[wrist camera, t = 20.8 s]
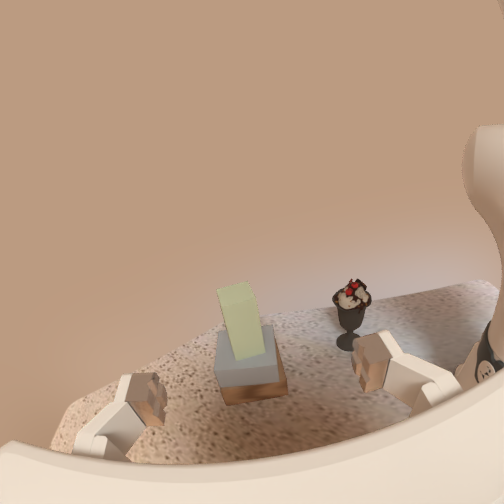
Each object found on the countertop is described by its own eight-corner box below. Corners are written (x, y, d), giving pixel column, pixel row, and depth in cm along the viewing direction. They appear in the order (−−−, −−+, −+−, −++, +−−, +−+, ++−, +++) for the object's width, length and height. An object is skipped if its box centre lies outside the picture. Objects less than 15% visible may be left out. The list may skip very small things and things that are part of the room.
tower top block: (275, 342, 48) (272, 324, 47) (279, 381, 40) (276, 364, 39) (223, 348, 49) (218, 331, 47) (220, 387, 41) (213, 370, 39)
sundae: (339, 359, 47) (342, 288, 41) (327, 335, 53) (326, 267, 47) (372, 348, 47) (380, 278, 41) (358, 326, 53) (361, 259, 47)
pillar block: (257, 334, 45) (247, 281, 41) (265, 352, 41) (255, 297, 37) (229, 341, 44) (216, 289, 40) (236, 361, 40) (221, 307, 36)
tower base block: (277, 354, 51) (274, 337, 50) (288, 395, 42) (286, 379, 40) (224, 364, 51) (218, 347, 49) (226, 406, 42) (220, 390, 40)
